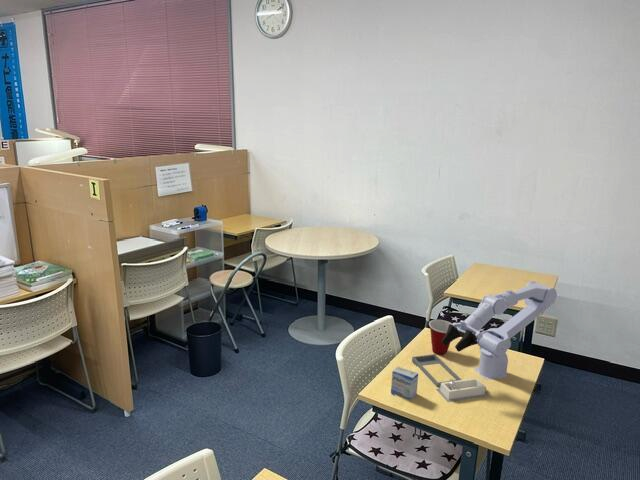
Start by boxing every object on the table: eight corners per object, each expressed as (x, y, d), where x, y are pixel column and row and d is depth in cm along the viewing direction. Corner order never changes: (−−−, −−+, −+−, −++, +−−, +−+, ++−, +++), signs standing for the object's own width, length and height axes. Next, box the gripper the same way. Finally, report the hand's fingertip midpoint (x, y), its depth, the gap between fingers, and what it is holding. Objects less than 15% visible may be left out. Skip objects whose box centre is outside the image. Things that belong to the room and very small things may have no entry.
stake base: (475, 384, 169) (477, 371, 167) (489, 397, 161) (491, 382, 160) (435, 390, 164) (437, 376, 163) (447, 403, 157) (448, 388, 156)
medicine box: (390, 393, 162) (391, 371, 160) (396, 387, 166) (397, 365, 164) (411, 401, 158) (413, 378, 156) (416, 395, 161) (418, 372, 159)
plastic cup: (444, 361, 185) (446, 333, 182) (421, 351, 193) (423, 324, 190) (459, 352, 192) (461, 325, 189) (436, 343, 200) (438, 317, 197)
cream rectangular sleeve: (479, 385, 167) (480, 377, 167) (488, 393, 162) (489, 385, 161) (440, 390, 163) (440, 382, 163) (448, 399, 158) (449, 391, 157)
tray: (434, 358, 187) (434, 354, 186) (461, 385, 168) (462, 380, 168) (411, 361, 184) (412, 356, 184) (436, 388, 166) (437, 383, 165)
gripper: (458, 308, 172) (432, 332, 168) (485, 316, 158) (457, 343, 155) (467, 322, 174) (441, 347, 170) (494, 332, 160) (467, 358, 157)
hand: (450, 346), depth 163 cm, fingers open, 7 cm apart
